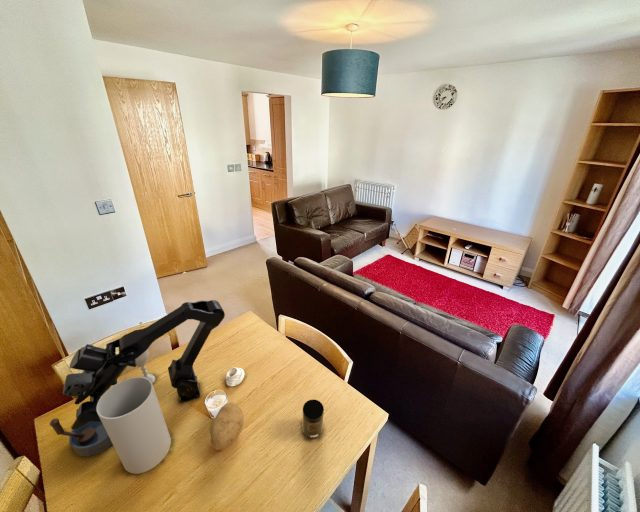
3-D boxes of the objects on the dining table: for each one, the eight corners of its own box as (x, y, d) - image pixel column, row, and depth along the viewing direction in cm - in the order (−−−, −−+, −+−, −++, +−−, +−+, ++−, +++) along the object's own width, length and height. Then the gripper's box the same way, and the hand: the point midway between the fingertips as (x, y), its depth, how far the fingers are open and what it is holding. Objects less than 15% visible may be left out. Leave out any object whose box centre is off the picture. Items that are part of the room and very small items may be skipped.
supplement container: (319, 417, 95) (320, 397, 90) (325, 436, 89) (326, 416, 84) (300, 422, 93) (300, 402, 88) (305, 442, 87) (305, 421, 82)
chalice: (148, 390, 102) (135, 355, 94) (132, 387, 103) (118, 351, 95) (162, 374, 108) (151, 340, 100) (147, 371, 109) (135, 337, 102)
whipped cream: (238, 390, 104) (238, 382, 102) (221, 387, 104) (220, 379, 102) (246, 372, 111) (246, 364, 108) (230, 369, 111) (230, 361, 109)
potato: (204, 458, 82) (200, 441, 79) (220, 413, 95) (217, 398, 91) (236, 459, 82) (233, 443, 78) (248, 414, 95) (246, 399, 91)
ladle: (96, 427, 88) (83, 402, 83) (96, 439, 85) (82, 414, 80) (65, 441, 84) (49, 415, 79) (63, 453, 81) (47, 428, 76)
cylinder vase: (138, 485, 75) (110, 428, 65) (115, 458, 81) (87, 402, 70) (179, 445, 85) (162, 390, 74) (157, 423, 91) (137, 369, 80)
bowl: (128, 408, 95) (125, 401, 94) (120, 445, 84) (117, 437, 83) (81, 422, 90) (77, 415, 89) (67, 464, 79) (61, 456, 78)
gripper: (81, 346, 83) (46, 388, 82) (75, 391, 69) (33, 443, 68) (119, 355, 91) (88, 394, 90) (120, 397, 77) (84, 443, 76)
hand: (74, 415), depth 81 cm, fingers open, 9 cm apart
